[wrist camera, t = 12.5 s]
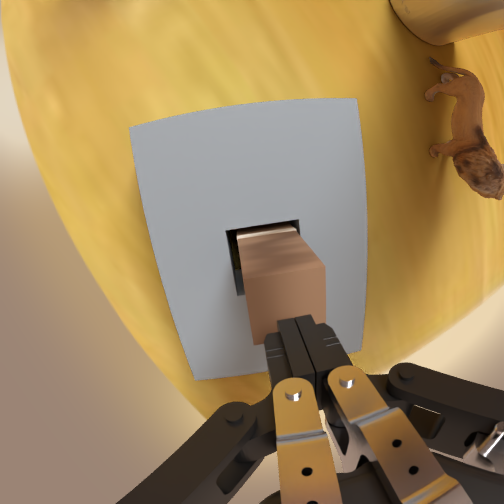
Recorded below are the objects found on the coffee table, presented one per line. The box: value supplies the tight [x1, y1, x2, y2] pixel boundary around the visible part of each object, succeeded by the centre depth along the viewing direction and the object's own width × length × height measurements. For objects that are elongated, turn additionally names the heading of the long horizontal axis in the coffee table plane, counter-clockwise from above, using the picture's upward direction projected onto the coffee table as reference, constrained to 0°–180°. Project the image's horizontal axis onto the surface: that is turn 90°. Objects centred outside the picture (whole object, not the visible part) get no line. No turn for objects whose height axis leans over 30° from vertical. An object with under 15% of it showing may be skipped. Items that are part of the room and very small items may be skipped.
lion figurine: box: [424, 57, 504, 200], centre depth 18 cm, size 15×5×9 cm, turn 12°
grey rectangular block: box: [129, 98, 368, 381], centre depth 23 cm, size 16×22×5 cm
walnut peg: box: [237, 221, 326, 345], centre depth 20 cm, size 4×4×12 cm
